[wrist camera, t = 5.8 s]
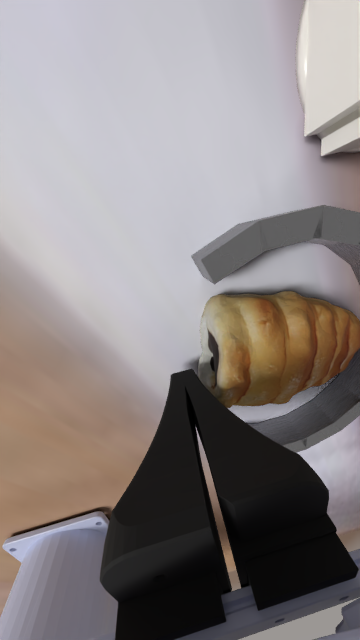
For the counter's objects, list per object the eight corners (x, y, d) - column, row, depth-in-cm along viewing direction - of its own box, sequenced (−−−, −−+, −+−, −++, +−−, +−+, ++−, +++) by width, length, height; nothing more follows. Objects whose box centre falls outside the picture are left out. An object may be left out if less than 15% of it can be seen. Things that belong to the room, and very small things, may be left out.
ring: (362, 403, 16) (389, 424, 14) (225, 443, 16) (235, 470, 14) (410, 183, 10) (469, 170, 8) (187, 236, 9) (196, 235, 8)
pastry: (349, 280, 12) (434, 298, 8) (320, 372, 14) (376, 415, 11) (195, 290, 11) (218, 315, 7) (194, 388, 13) (211, 443, 10)
